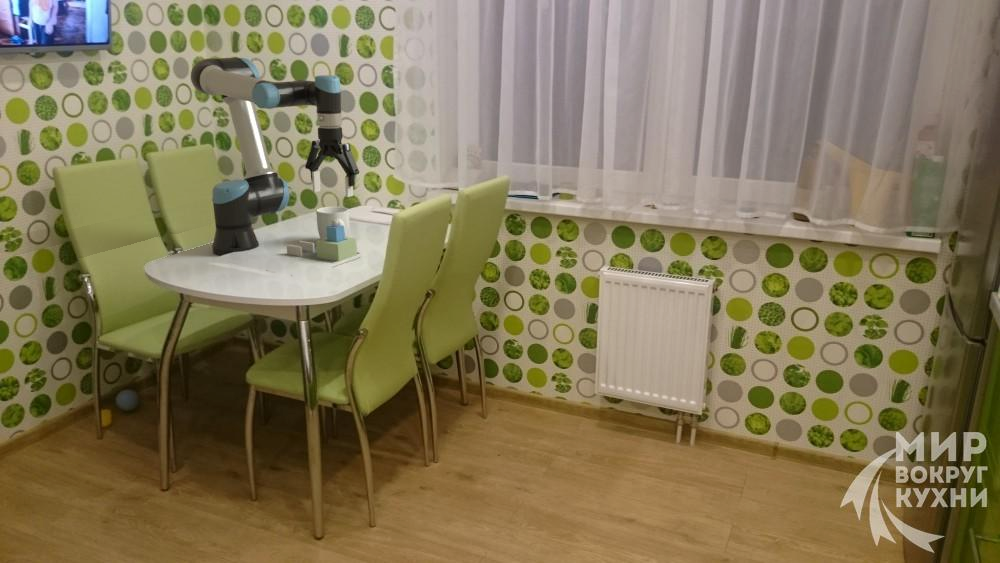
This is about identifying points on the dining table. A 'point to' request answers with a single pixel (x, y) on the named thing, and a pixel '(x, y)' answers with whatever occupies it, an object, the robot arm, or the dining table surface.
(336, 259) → the port
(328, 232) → the plug
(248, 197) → the robot arm
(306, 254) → the panel
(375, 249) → the dining table surface
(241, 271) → the dining table surface
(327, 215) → the mug
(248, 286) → the dining table surface
